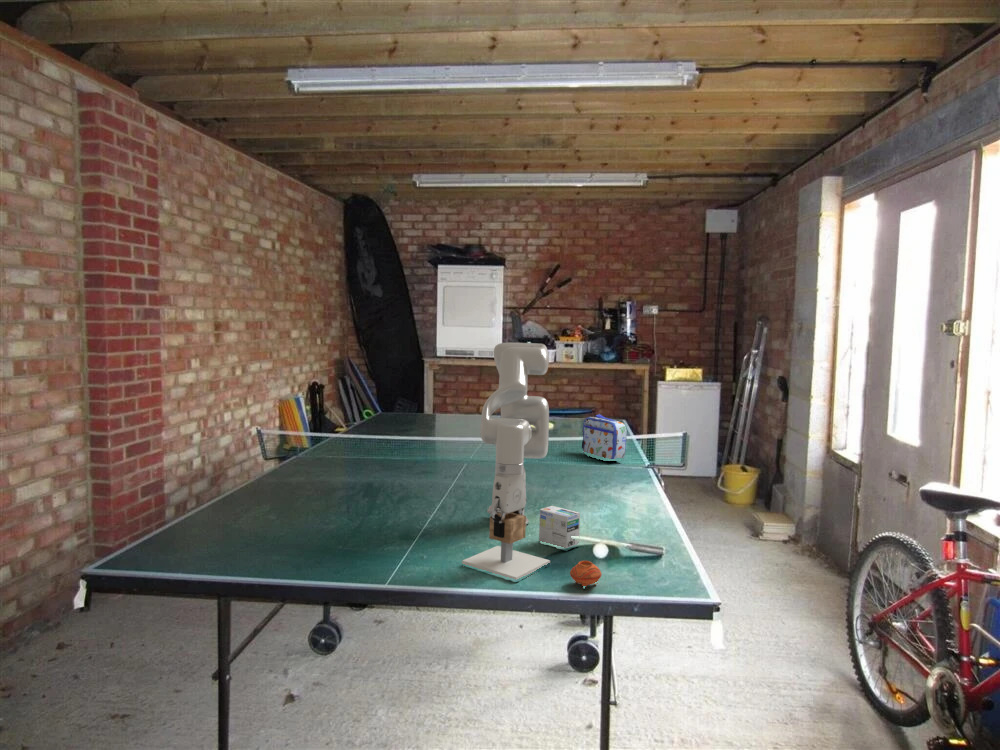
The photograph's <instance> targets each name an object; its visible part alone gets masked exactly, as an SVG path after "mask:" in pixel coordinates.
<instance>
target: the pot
mask: <svg viewBox="0 0 1000 750" xmlns="http://www.w3.org/2000/svg"><path fill="white" fill-rule="evenodd" d="M602 575H603V574H602V572H601V570H600V568H599V567H598V566H597V565H595V564H594V563H593V562H592V561H589V560H580V561H578V563H577V564H576V565H574V566H573V567H572V568H571V570H570V571H569V576H570V577H571V578H572V580H573V581H574V580H575V581H576V582H577V583H576V584H580V585H581V587H582V586H586V587H587V586H590V584H591V585H593V584H594V583H595V582H597V581H598V582H599V580H600V579H601V577H602ZM575 581H574V582H575Z"/></svg>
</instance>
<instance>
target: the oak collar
mask: <svg viewBox="0 0 1000 750" xmlns="http://www.w3.org/2000/svg"><path fill="white" fill-rule="evenodd" d="M498 515H499V517H500V516H501V513H499V514H498ZM526 518H527V515H525V514H524V515H520V514H516V513H509V514H505V517H504V521H503V523H505V527H504V537H503V538H500V537H497V536H494V534H493V533H494V522H493V520H492V518H491V515H489V531H488V532H489V533H488V537H489V539H491V540H493V541H494V540H495V541H498V542H500V543H501V542H505V543H509V544H511V543H513V544H514V543H515V542H518V541H521V540H523V539H525V538H526V529H527V525H526Z"/></svg>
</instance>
